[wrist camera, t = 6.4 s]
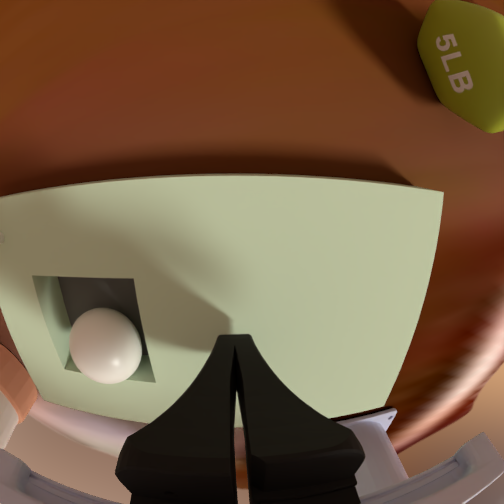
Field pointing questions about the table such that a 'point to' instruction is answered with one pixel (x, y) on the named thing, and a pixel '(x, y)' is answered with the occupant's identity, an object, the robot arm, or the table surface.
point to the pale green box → (220, 282)
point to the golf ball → (105, 345)
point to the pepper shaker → (13, 394)
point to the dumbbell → (466, 60)
